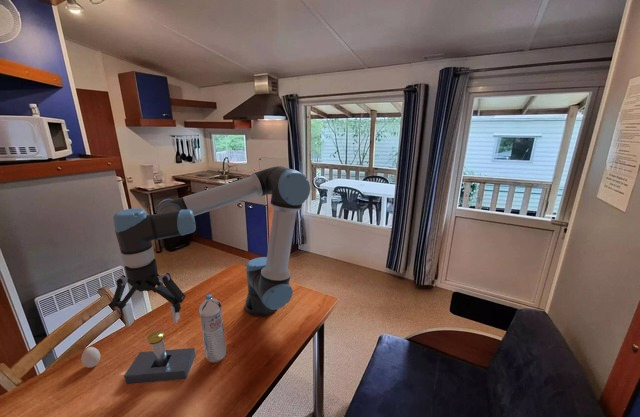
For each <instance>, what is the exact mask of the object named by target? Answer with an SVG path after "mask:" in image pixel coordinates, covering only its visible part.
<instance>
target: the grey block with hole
mask: <svg viewBox="0 0 640 417" xmlns="http://www.w3.org/2000/svg"><path fill="white" fill-rule="evenodd" d="M165 351H166V356H167V360H168V363H167V365H166V367H157V366H156V361H155V357H154V352H153V350H149V351H140V352H138V354H137V355H136V357H135V359H133V361H132V363H131V365H130V366H129V367H128V369H127V371H126V373H125V374H124V375H123V377H124V380H125V385H134V384H145V383H156V382H167V381H168V382H169V381H177V380H187V379H188V376H189V373H190V371H191V368H192V366H193V363H194V362H195V361H194V360H195V358H196V357H197V356H196V355H197V354H196V350H195V347H192V348H191V347H190V348H189V347H187V348H176V349H175V348H174V349H165Z"/></svg>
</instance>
